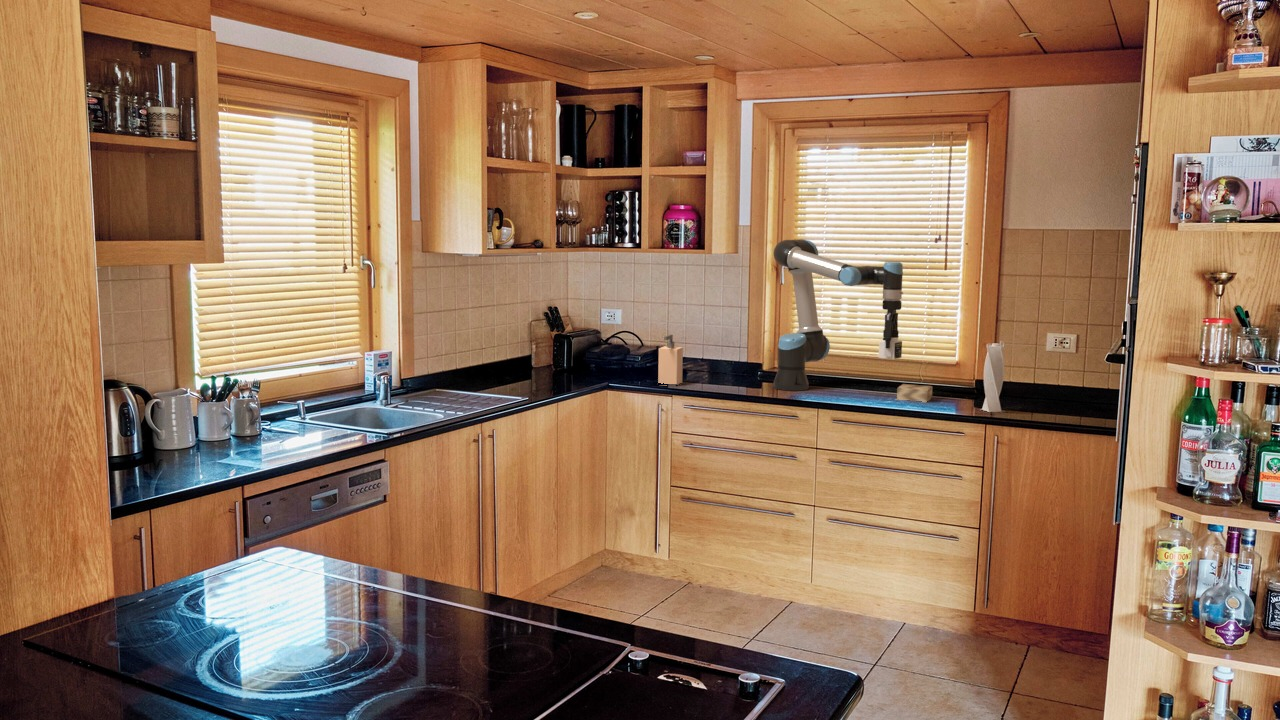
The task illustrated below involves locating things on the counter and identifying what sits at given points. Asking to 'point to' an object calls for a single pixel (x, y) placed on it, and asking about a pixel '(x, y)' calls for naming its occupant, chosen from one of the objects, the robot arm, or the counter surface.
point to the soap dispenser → (670, 363)
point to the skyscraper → (993, 377)
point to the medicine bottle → (896, 346)
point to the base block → (914, 392)
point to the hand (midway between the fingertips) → (890, 355)
